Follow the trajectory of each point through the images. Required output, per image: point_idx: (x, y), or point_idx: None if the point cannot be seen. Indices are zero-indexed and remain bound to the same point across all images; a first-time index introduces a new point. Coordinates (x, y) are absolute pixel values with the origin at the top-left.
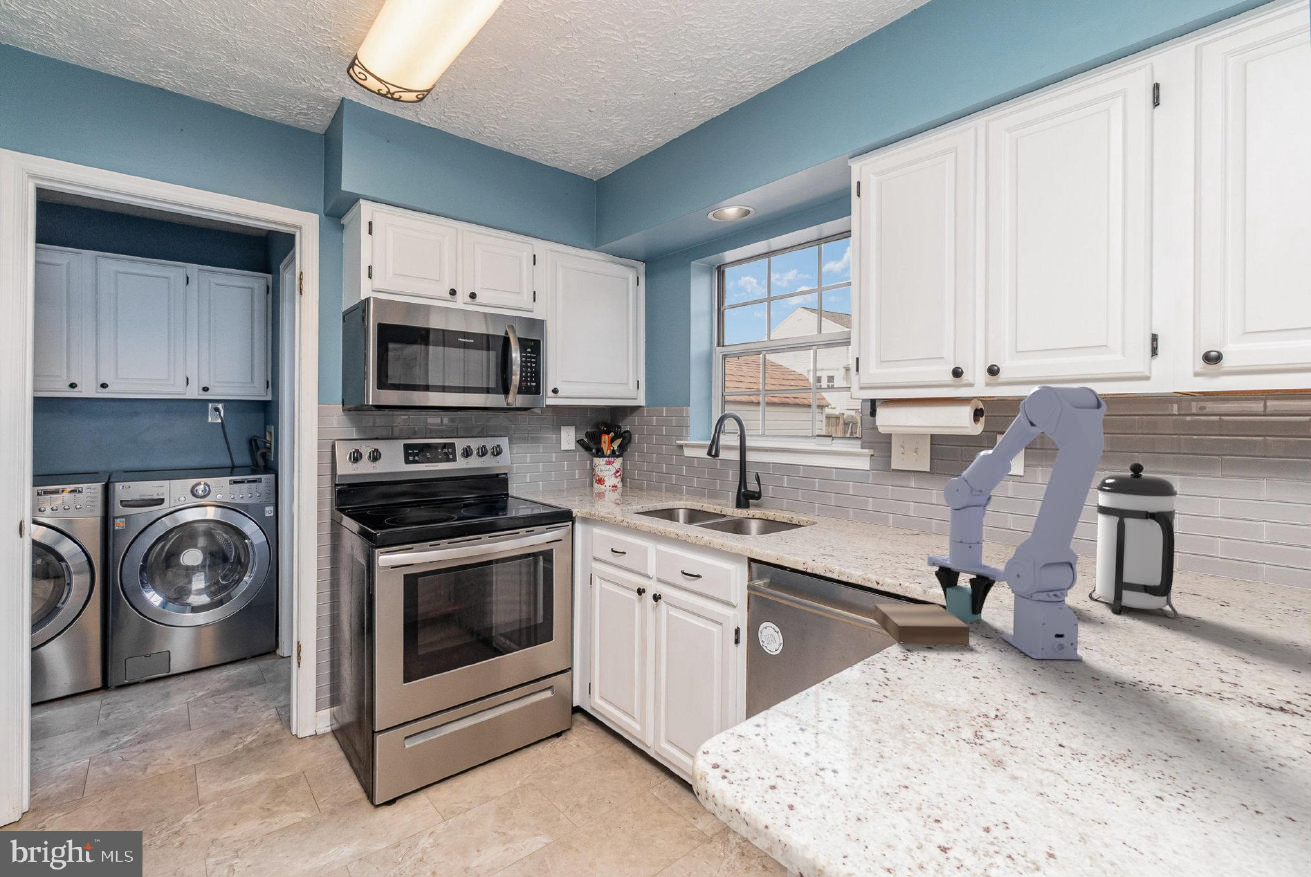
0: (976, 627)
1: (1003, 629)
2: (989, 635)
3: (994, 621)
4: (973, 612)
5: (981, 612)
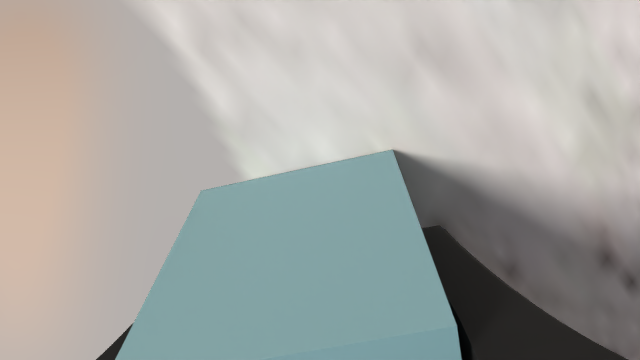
0: None
1: (635, 193)
2: (635, 356)
3: (487, 100)
4: None
5: (399, 171)
